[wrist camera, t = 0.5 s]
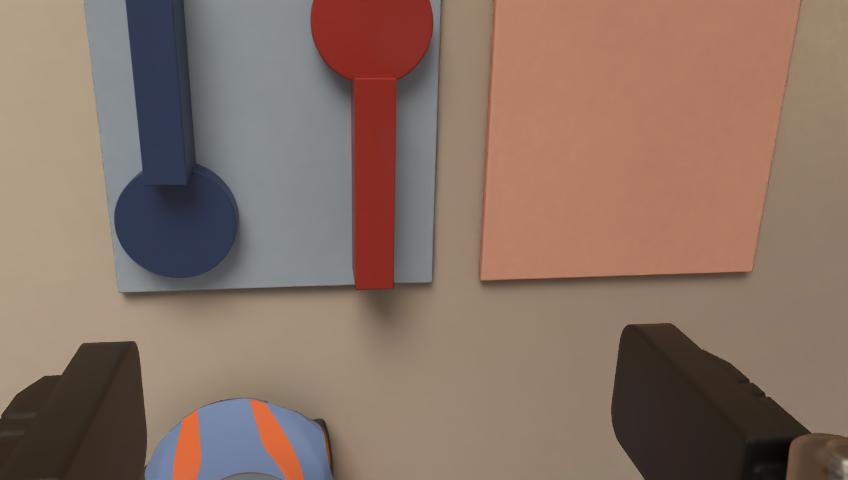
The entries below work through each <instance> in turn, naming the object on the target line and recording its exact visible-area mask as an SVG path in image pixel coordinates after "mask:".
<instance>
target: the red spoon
mask: <svg viewBox="0 0 848 480" xmlns="http://www.w3.org/2000/svg"><path fill="white" fill-rule="evenodd" d="M310 24H311V32H312V37H313V40H314V43H315V46H316V48H317V50H318V52H319V54H320V55H321V57H322V58H323V60H324V61H325V62H326V64H327V65H328V66H329V67H330V68H331V69H332V70H333V71H335V72H336V73H337V74H339V75H340V76H342V77H343V78H345V79H347V80H349V81H351V158H352V270H353V276H354V282H355V288H356V290H365V289H393V288H394V234H395V160H396V86H397V80H398V79H400V78H402V77H404V76H405V75H407V74H408V73H410V72H411V71H412V70H413V69H414V68H415V67H416V66H417V65H418V64H419V63H420V61H421V60H422V58H423V57H424V55H425V53H426V52H427V50H428V47H429V44H430V42H431V38H432V33H433V12H432V7H431V3H430V0H313V3H312V7H311V15H310Z"/></svg>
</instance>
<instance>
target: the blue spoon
mask: <svg viewBox="0 0 848 480" xmlns="http://www.w3.org/2000/svg"><path fill="white" fill-rule="evenodd" d="M125 2H126V12H127V22H128V32H129V42H130V52H131V62H132V72H133V82H134V92H135V102H136V111H137V121H138V131H139V141H140V151H141V161H142V171H141V172H139V173H138V174H137V175H136V176H135V177H134V178H133V179H132V180H131V181H130V182H129V183H128V184H127V186H126V187H125V188H124V189H123V191H122V192H121V194H120V196H119V198H118V200H117V203H116V207H115V212H114V226H115V231H116V234H117V237H118V240H119V242H120V244H121V246H122V247H123V249H124V250H125V252H126V253H127V254H128V255H129V257H130V258H131V259H132V260H133V261H135V262H136V263H137V264H138V265H140V266H141V267H143V268H144V269H146V270H148V271H150V272H152V273H155V274H157V275H161V276H165V277H171V278H187V277H193V276H197V275H200V274H203V273H205V272H207V271H209V270H211V269H212V268H214V267H215V266H217V265H218V264H219V263H220V262H221V261H222V260H223V259H224V258H225V257H226V256H227V254H228V253H229V251H230V250H231V247H232V245H233V243H234V240H235V236H236V233H237V230H238V224H239V213H238V207H237V203H236V200H235V198H234V195H233V193H232V192H231V190H230V188H229V187H228V186H227V184H226V183H225V182H224V181H223V180H222V179H221V178H220V177H219V176H218V175H217V174H215V173H214V172H213V171H211V170H209V169H208V168H206V167H204V166H201V165H199V164H196V158H195V145H194V131H193V118H192V105H191V92H190V79H189V66H188V53H187V40H186V27H185V14H184V0H125Z"/></svg>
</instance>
